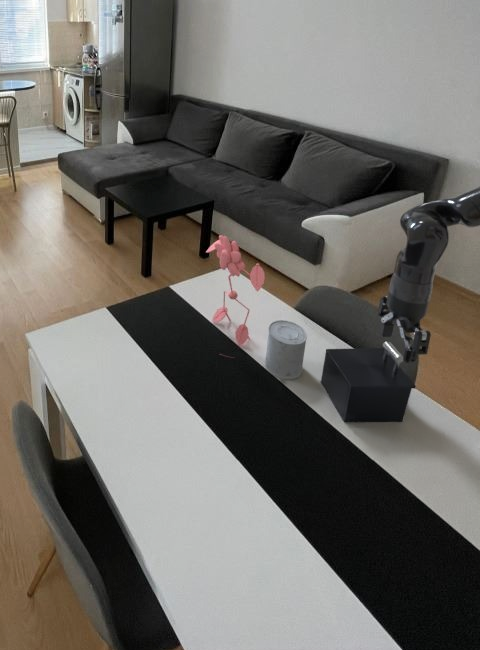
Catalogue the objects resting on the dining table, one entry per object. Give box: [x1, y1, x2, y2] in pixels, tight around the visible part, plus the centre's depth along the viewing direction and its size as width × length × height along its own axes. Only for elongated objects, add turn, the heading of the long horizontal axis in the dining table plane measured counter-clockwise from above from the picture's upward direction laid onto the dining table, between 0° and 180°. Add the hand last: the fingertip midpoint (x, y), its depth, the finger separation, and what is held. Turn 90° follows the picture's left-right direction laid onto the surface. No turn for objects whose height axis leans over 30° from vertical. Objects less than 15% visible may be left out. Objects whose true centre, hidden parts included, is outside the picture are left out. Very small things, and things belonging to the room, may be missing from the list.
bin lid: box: [325, 341, 417, 390], centre depth 104 cm, size 14×12×6 cm
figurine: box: [205, 234, 266, 359], centre depth 128 cm, size 15×26×35 cm, turn 19°
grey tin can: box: [264, 319, 308, 380], centre depth 119 cm, size 10×10×12 cm
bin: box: [320, 351, 412, 424], centre depth 107 cm, size 14×12×11 cm
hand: (396, 348), depth 103 cm, fingers open, 8 cm apart
